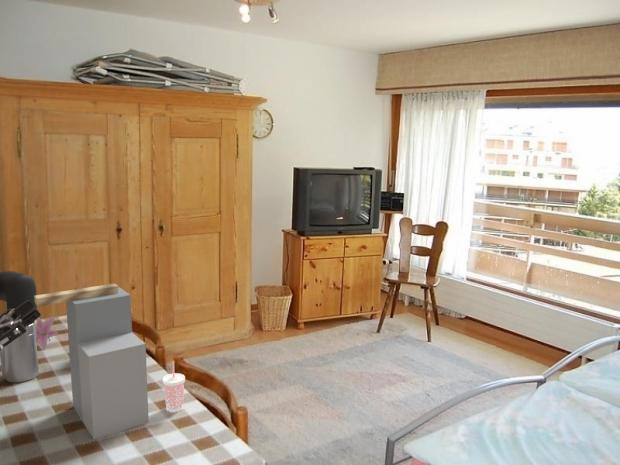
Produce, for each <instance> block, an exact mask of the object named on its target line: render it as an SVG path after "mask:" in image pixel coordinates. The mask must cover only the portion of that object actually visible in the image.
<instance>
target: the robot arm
mask: <svg viewBox="0 0 620 465" xmlns="http://www.w3.org/2000/svg"><path fill="white" fill-rule="evenodd" d="M35 295H37V285H36V282H35V280H34V278H33V277H32V276H31V275H28V274H26V273H22V272H18V271H12V270H7V271H0V301H2V302H6V310H5V311H4V312H3V313H1V314H0V345H1V346H0V365H1V376H2V380H6V381H7V382H9V383H22V382H27V381H30V380H33V379H36V378H37V377H38V376H39V374H40V372H39V371H40V370H39V358H38V357H39V356H38V343H37V342H36V330H35V327H36V321H37V319H38V318H40V317H41V312H40V311H39V310H38V306H37V305H36V304H35V298H34V296H35Z"/></svg>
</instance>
